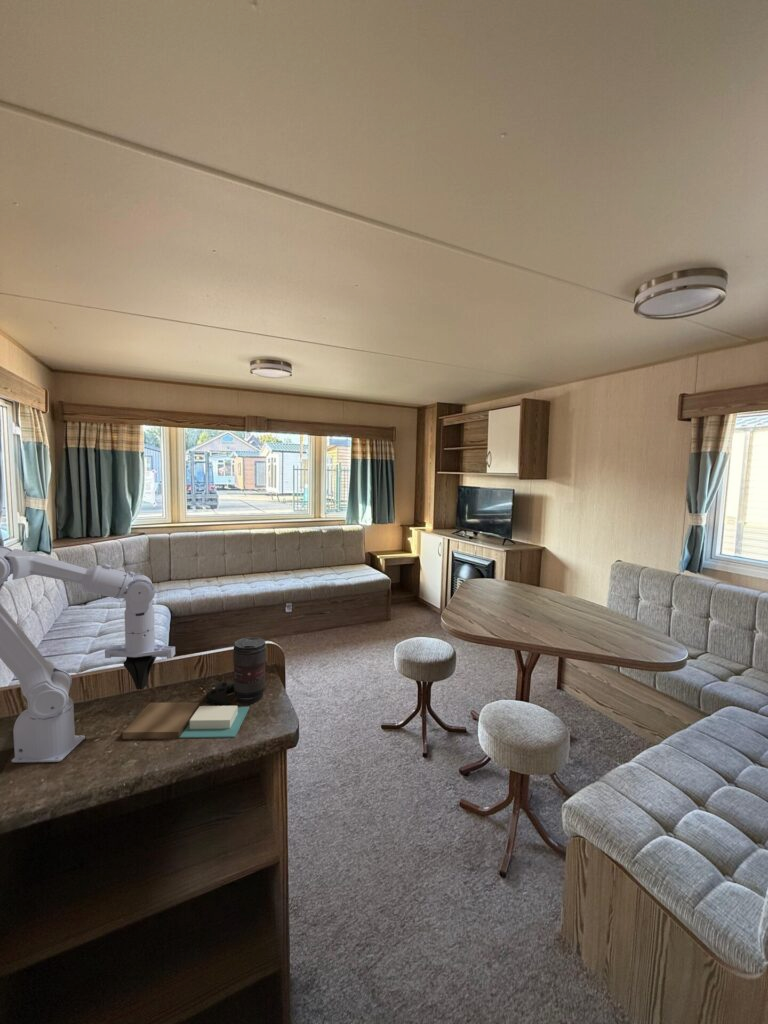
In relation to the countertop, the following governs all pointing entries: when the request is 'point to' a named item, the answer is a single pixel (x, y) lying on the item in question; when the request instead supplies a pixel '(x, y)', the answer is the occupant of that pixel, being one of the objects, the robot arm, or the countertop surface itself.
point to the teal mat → (217, 733)
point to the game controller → (220, 693)
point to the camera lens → (249, 669)
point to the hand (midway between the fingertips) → (141, 687)
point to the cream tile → (213, 717)
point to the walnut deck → (161, 721)
